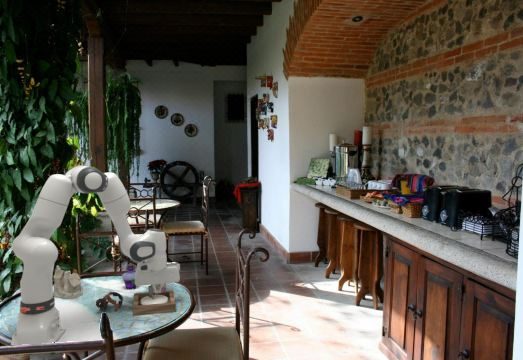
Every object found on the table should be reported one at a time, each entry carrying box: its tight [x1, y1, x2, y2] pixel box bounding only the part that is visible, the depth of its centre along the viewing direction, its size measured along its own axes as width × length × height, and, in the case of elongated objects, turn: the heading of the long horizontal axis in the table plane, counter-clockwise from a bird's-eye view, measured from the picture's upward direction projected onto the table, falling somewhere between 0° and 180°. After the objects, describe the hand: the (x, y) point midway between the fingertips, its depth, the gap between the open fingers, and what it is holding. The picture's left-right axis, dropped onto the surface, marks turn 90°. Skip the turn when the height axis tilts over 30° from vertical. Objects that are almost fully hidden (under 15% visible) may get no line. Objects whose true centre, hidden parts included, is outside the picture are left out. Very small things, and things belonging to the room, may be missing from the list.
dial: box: [141, 285, 168, 305], centre depth 205 cm, size 12×12×7 cm
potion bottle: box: [121, 263, 138, 290], centre depth 229 cm, size 9×9×12 cm
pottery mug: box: [95, 291, 124, 312], centre depth 202 cm, size 12×10×8 cm
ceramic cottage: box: [52, 265, 84, 300], centre depth 222 cm, size 16×16×15 cm
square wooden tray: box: [132, 289, 177, 316], centre depth 205 cm, size 18×18×4 cm
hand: (157, 292), depth 209 cm, fingers closed
